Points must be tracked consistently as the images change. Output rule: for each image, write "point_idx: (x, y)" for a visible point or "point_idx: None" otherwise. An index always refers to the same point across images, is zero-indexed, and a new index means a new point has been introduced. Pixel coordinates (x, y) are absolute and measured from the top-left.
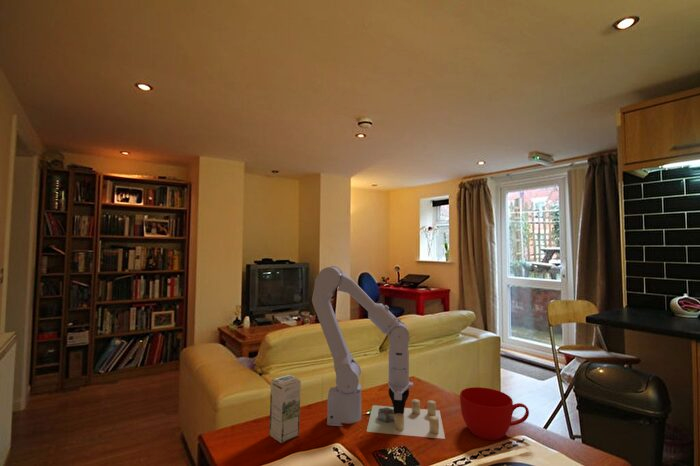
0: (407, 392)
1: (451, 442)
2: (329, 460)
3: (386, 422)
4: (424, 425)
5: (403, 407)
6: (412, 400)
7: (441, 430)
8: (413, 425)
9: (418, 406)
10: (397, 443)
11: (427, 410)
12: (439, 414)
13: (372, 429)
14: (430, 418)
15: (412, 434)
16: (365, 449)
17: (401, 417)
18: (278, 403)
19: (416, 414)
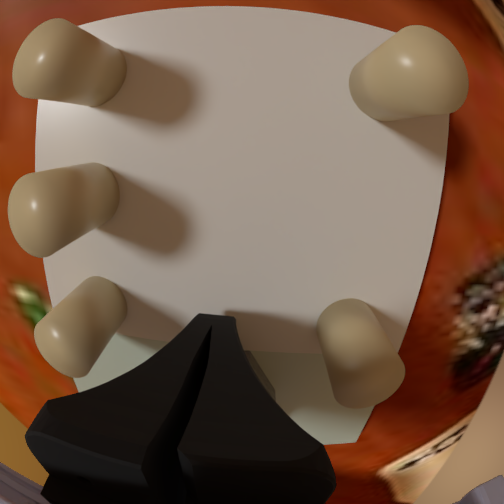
0: (210, 478)
1: (423, 23)
2: (449, 455)
3: (273, 389)
4: (292, 140)
5: (247, 366)
6: (37, 250)
7: (354, 33)
8: (298, 228)
9: (79, 183)
10: (435, 319)
11: (82, 103)
12: (99, 25)
13: (340, 429)
14: (444, 106)
15: (418, 249)
16: (438, 412)
17: (404, 366)
18: None
19: (118, 191)
